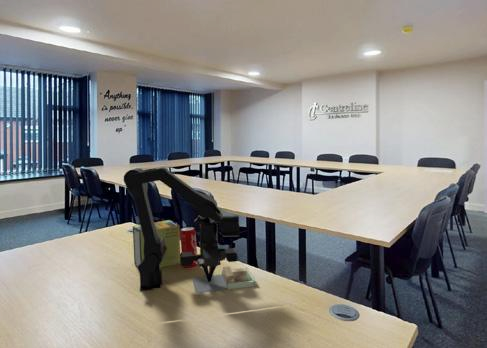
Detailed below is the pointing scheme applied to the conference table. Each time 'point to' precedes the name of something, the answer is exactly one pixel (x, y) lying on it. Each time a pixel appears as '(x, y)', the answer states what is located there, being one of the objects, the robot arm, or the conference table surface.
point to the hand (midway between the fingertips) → (208, 281)
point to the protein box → (163, 230)
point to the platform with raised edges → (221, 283)
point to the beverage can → (189, 244)
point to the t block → (234, 275)
